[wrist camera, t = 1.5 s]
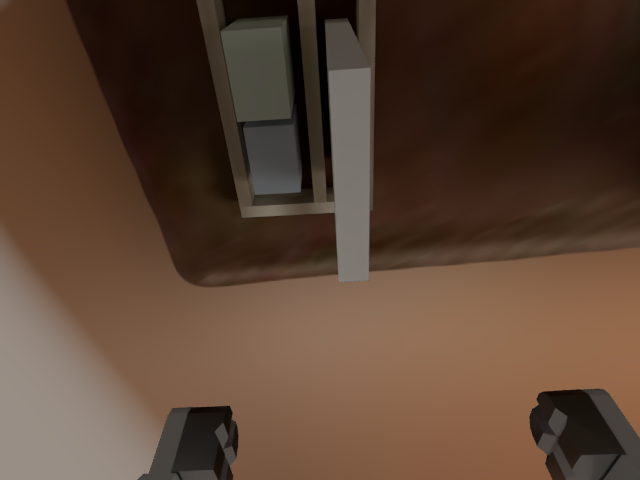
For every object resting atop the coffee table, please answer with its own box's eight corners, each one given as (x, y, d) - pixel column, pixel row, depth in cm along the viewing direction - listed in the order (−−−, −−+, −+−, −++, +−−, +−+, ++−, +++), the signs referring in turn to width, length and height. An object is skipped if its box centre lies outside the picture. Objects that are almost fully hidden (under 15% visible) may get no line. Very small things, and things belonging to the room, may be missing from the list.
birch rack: (371, -49, 29) (376, -50, 27) (369, 195, 41) (372, 210, 38) (199, -36, 29) (188, -36, 27) (246, 202, 41) (242, 217, 39)
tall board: (347, 17, 32) (370, 67, 17) (350, 158, 38) (368, 280, 24) (324, 19, 32) (328, 70, 17) (331, 159, 38) (338, 281, 24)
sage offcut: (287, 15, 31) (281, 27, 26) (295, 92, 35) (290, 118, 29) (238, 18, 32) (220, 31, 26) (250, 95, 35) (237, 121, 29)
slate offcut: (296, 103, 35) (293, 124, 31) (302, 165, 39) (300, 192, 34) (252, 106, 36) (242, 128, 31) (262, 168, 39) (255, 194, 35)
